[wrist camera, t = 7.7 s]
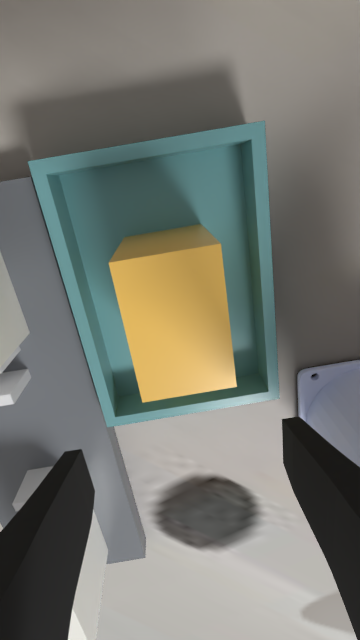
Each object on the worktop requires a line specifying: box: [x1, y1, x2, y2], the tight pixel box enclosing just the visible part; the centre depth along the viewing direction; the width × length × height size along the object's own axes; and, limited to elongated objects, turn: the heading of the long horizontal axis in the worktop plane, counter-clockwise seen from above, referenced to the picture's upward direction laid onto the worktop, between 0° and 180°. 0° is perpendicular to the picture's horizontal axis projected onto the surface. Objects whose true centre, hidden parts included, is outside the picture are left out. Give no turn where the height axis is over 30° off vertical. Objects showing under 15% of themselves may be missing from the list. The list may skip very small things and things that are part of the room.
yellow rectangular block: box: [109, 224, 237, 403], centre depth 16 cm, size 4×6×6 cm, turn 9°
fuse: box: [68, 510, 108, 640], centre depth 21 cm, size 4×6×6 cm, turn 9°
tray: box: [28, 121, 280, 427], centre depth 18 cm, size 10×14×3 cm
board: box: [0, 177, 146, 564], centre depth 20 cm, size 9×27×4 cm, turn 9°
